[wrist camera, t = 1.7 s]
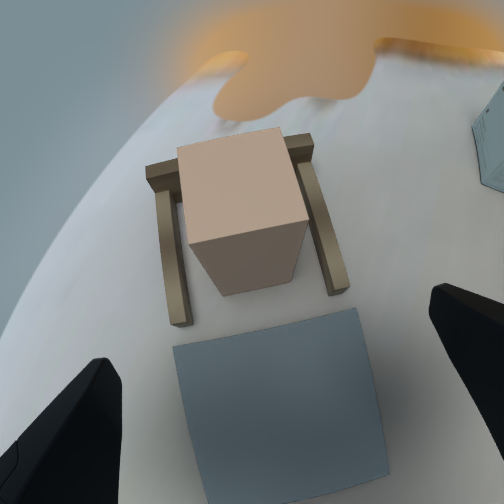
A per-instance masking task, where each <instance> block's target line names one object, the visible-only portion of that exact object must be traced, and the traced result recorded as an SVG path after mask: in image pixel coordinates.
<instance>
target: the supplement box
mask: <svg viewBox="0 0 504 504" xmlns="http://www.w3.org/2000/svg"><path fill="white" fill-rule="evenodd" d="M472 128H473V132H474V136H475V140H476V145H477V151H478V157H479V164H480V173H481V183H482V184H484V185H486V186H489V187H491V188H493V189H496V190H498V191H501V192H503V193H504V81H503V83H502V84H501V86H500V87H499V89H498V90H497V92H496V93H495V95H494V96H493V98H492V99H491V101H490V102H489V103H488V105H487V106H486V108H485V109H484V111H483V112H482V113H481V115H480V116H479V118H478V119H477V120H476V122H475V123H474V125H473V126H472Z"/></svg>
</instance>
